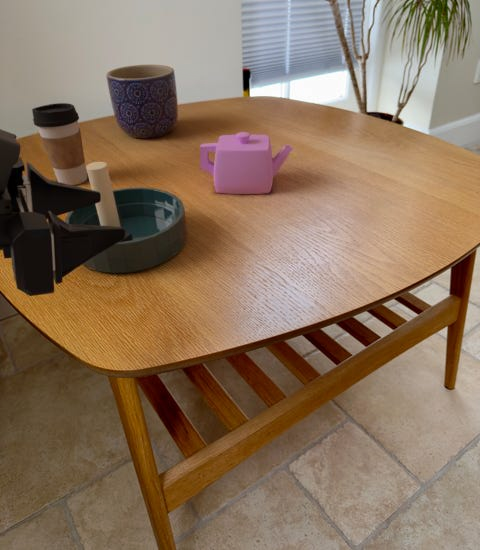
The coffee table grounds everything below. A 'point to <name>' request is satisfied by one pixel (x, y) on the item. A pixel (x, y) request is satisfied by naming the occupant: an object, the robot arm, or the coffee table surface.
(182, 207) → the basin
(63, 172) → the coffee cup
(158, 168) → the coffee table surface
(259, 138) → the teapot
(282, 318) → the coffee table surface
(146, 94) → the planter
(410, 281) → the coffee table surface
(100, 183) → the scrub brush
